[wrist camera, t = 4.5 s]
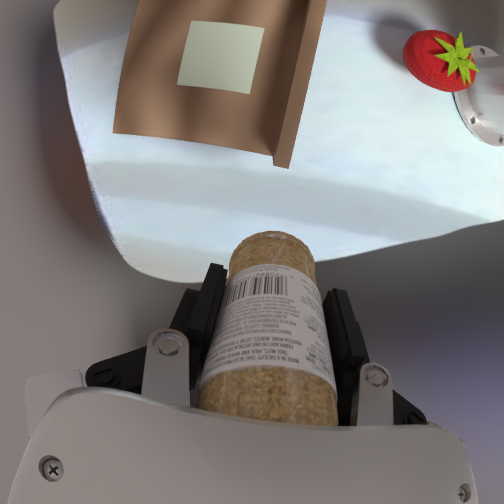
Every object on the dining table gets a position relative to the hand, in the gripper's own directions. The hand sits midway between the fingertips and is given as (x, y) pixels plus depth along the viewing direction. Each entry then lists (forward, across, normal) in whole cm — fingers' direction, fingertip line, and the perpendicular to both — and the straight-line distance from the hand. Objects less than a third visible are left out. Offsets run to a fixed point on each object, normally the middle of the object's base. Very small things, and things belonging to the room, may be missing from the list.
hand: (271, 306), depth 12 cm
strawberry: (+19, -11, -17) cm, 28 cm away
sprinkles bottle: (+4, 0, 0) cm, 4 cm away
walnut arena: (+18, +9, -12) cm, 24 cm away
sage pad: (+18, +8, -12) cm, 23 cm away
